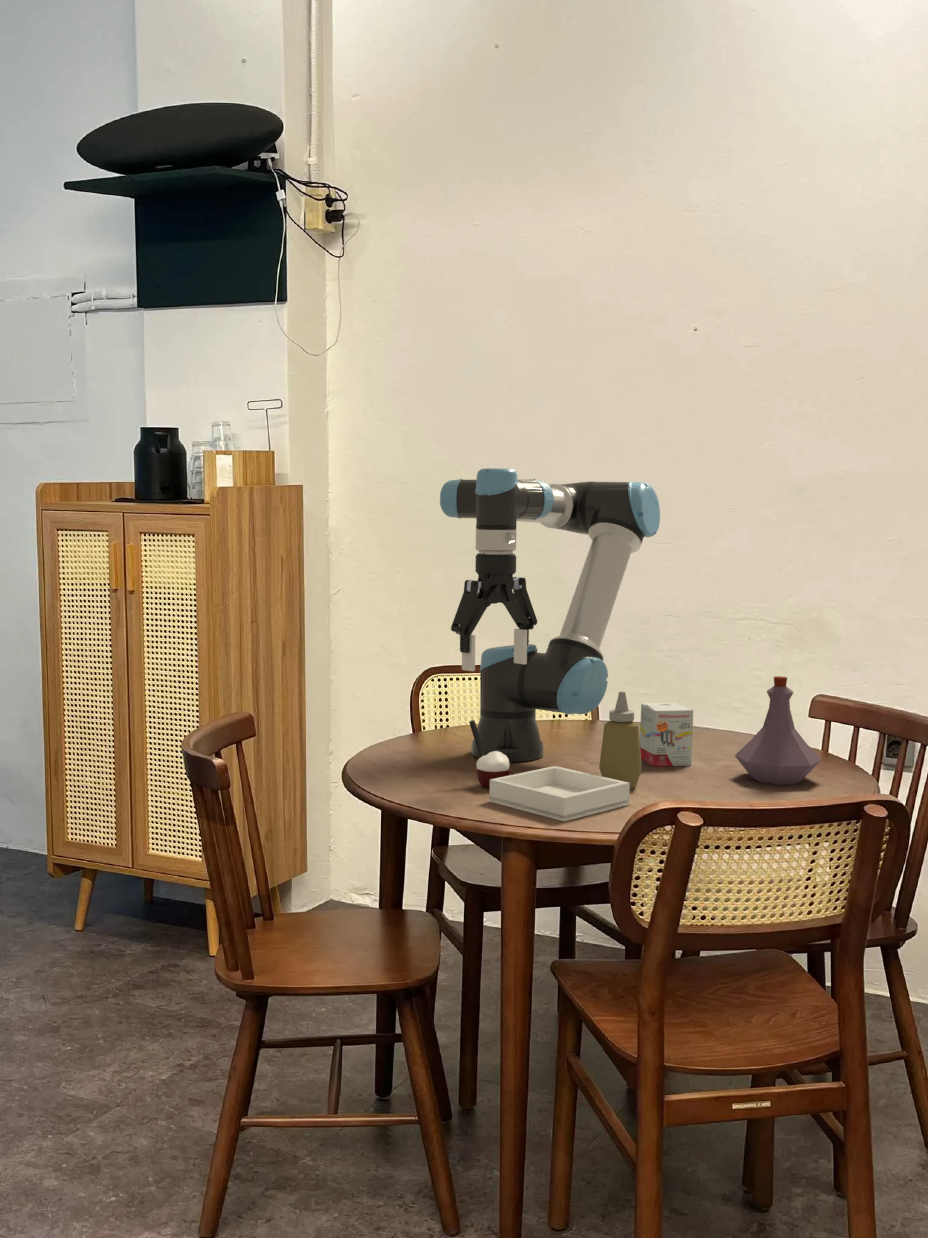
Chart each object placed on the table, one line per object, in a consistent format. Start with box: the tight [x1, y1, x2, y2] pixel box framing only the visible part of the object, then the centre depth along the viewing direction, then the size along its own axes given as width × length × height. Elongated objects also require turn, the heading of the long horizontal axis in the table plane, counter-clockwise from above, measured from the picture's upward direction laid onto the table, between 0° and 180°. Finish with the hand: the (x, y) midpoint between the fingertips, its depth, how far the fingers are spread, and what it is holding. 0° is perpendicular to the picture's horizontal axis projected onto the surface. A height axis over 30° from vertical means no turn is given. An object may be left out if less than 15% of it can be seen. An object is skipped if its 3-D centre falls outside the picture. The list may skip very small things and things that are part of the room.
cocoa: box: [469, 719, 516, 790], centre depth 234 cm, size 10×6×12 cm, turn 38°
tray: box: [489, 765, 630, 822], centre depth 222 cm, size 17×18×4 cm
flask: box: [734, 675, 822, 786], centre depth 241 cm, size 16×16×20 cm
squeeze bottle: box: [598, 691, 643, 790], centre depth 234 cm, size 8×8×18 cm
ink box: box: [639, 702, 694, 768], centre depth 257 cm, size 9×9×12 cm
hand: (494, 667), depth 232 cm, fingers open, 13 cm apart
